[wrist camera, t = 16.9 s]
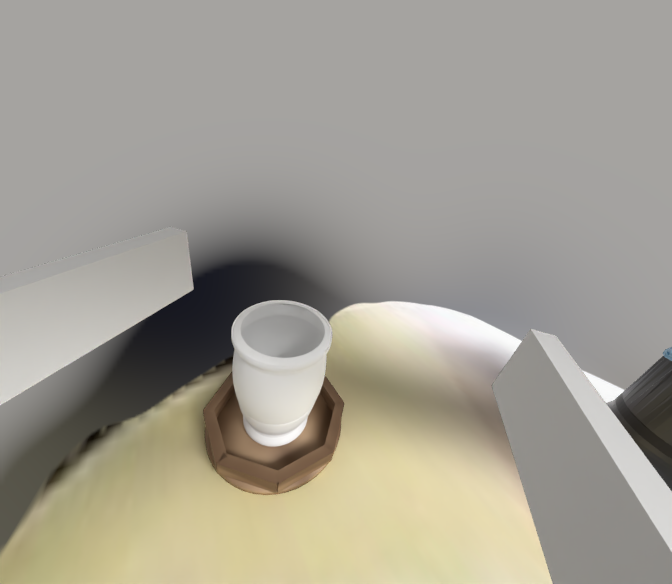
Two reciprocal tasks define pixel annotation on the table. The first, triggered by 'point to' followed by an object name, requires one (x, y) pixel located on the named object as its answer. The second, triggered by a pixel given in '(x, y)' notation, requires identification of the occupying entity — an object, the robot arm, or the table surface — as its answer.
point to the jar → (278, 367)
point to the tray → (264, 461)
